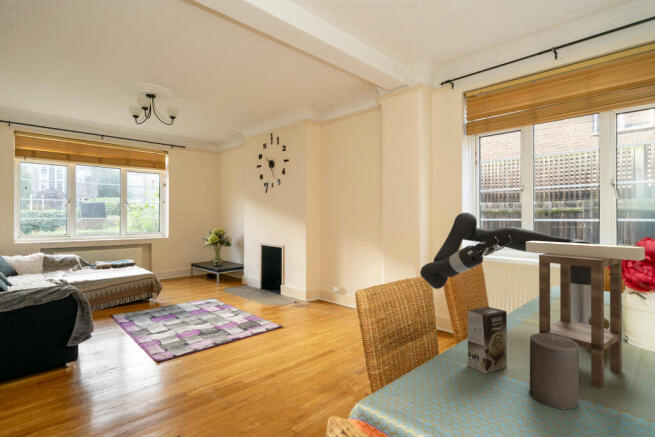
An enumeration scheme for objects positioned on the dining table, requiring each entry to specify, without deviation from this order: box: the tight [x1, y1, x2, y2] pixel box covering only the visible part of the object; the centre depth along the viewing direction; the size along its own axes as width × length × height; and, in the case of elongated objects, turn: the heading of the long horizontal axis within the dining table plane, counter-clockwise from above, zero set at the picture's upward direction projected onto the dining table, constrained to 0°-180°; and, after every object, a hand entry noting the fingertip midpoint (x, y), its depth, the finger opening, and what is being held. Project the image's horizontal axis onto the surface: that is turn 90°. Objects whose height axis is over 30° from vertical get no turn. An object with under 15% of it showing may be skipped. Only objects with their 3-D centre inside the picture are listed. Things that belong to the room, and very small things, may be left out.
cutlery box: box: [526, 241, 646, 262], centre depth 92 cm, size 4×26×3 cm, turn 34°
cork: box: [586, 317, 610, 358], centre depth 103 cm, size 6×6×11 cm
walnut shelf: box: [538, 253, 623, 390], centre depth 92 cm, size 16×14×32 cm
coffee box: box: [467, 306, 508, 375], centre depth 95 cm, size 9×6×16 cm
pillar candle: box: [528, 333, 580, 410], centre depth 78 cm, size 10×10×15 cm
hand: (504, 239), depth 109 cm, fingers open, 8 cm apart
